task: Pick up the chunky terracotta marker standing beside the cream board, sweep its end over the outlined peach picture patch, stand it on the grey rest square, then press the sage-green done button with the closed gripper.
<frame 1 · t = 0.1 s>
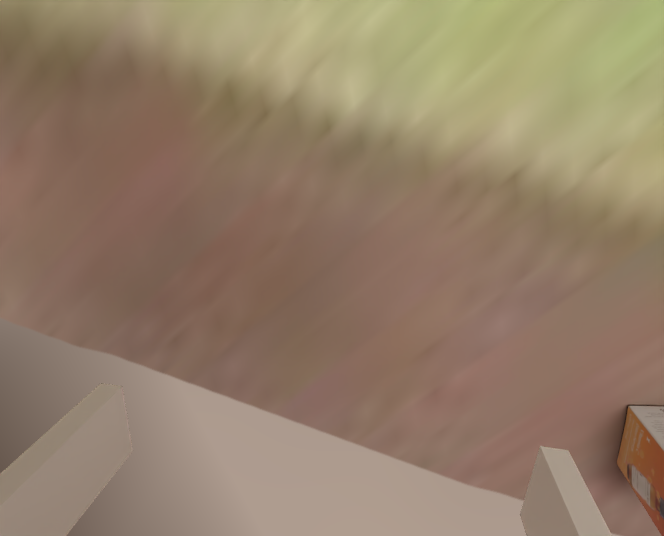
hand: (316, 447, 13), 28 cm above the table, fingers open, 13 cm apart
small box: (649, 434, 42), on the table
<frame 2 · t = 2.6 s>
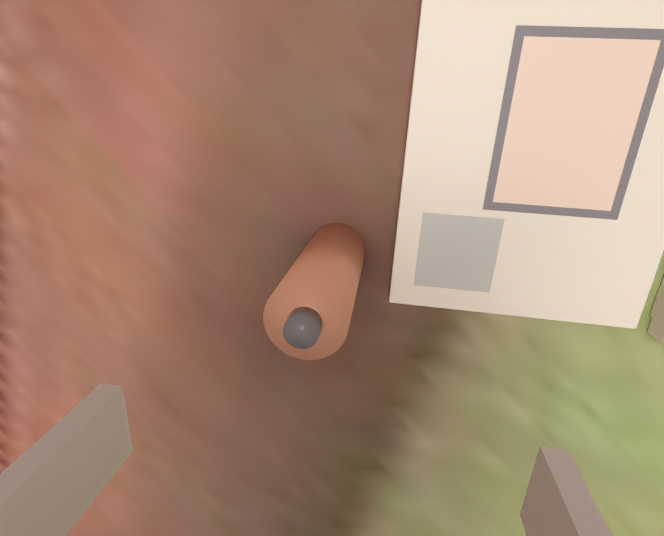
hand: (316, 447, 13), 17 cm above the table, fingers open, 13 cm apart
marker: (337, 250, 29), on the table
board: (536, 161, 25), on the table
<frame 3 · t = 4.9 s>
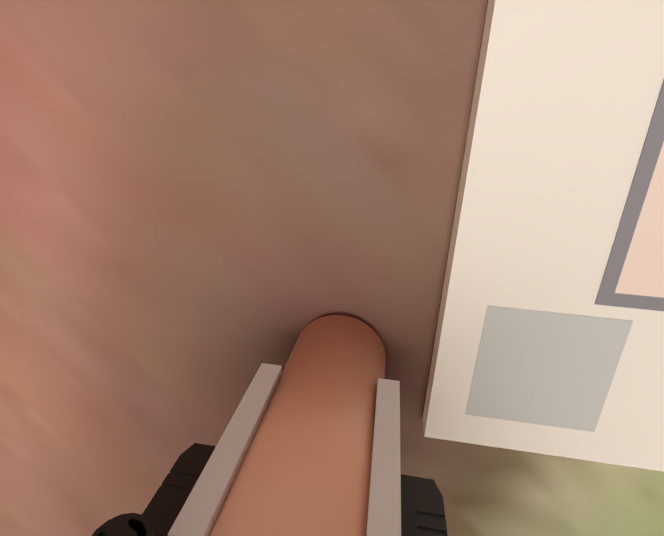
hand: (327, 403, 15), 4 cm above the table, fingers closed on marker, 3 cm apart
marker: (339, 355, 18), on the table, touching gripper
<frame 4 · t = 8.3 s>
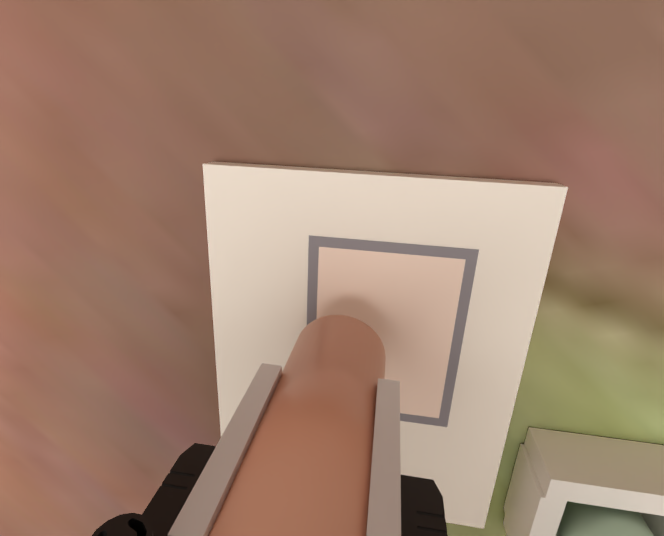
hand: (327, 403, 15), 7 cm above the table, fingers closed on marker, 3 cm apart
marker: (339, 355, 18), point 4 cm above the table, touching gripper
board: (361, 355, 22), on the table
button housing: (578, 486, 23), on the table
when the fingers open (7 cm above the table, at t = 12.1 s): marker drops 2 cm, resting on board.
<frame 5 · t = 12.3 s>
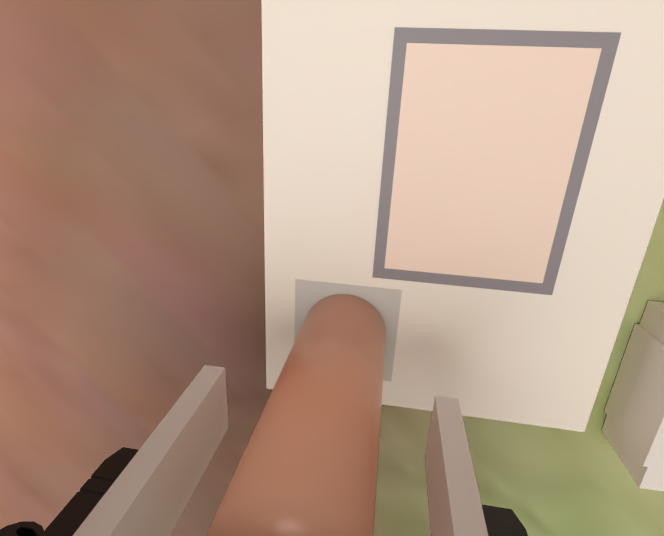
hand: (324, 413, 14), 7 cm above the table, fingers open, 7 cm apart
marker: (344, 331, 20), point 1 cm above the table, touching board
board: (443, 212, 18), on the table
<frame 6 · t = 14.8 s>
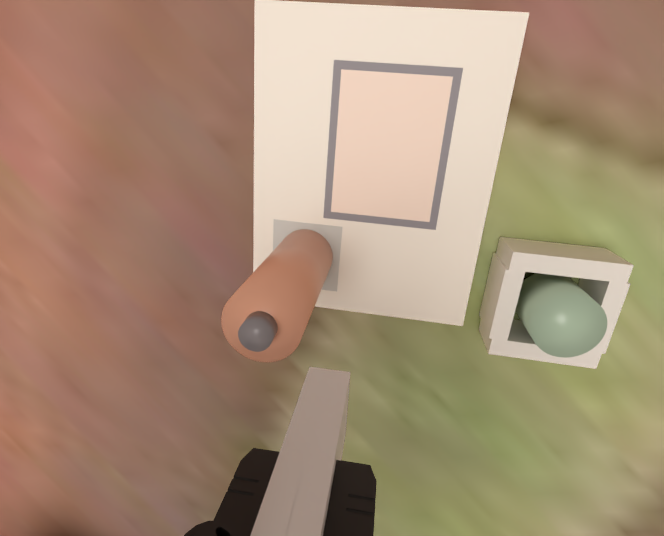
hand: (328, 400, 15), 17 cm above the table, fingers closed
marker: (305, 255, 30), point 1 cm above the table, touching board
done button: (556, 312, 26), point 3 cm above the table, slide at 0.0 cm
board: (369, 176, 28), on the table
button housing: (538, 291, 29), on the table
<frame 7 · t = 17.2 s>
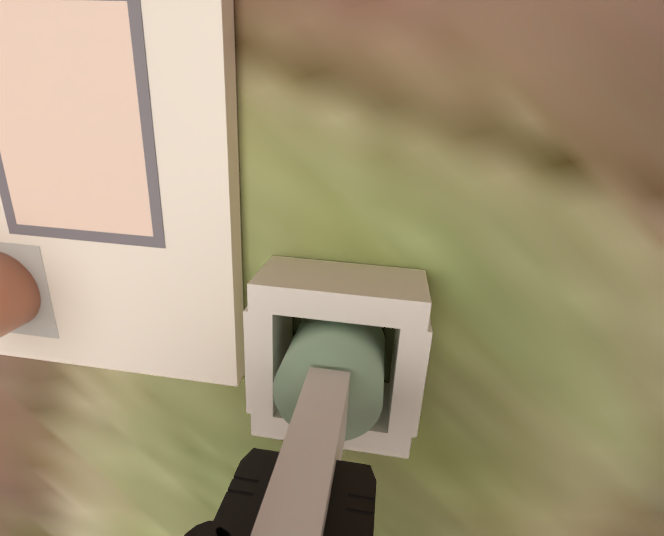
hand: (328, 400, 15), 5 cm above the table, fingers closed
marker: (3, 288, 20), point 1 cm above the table, touching board
done button: (334, 367, 17), point 3 cm above the table, slide at 0.6 cm, touching gripper
board: (74, 169, 19), on the table
button housing: (342, 333, 20), on the table
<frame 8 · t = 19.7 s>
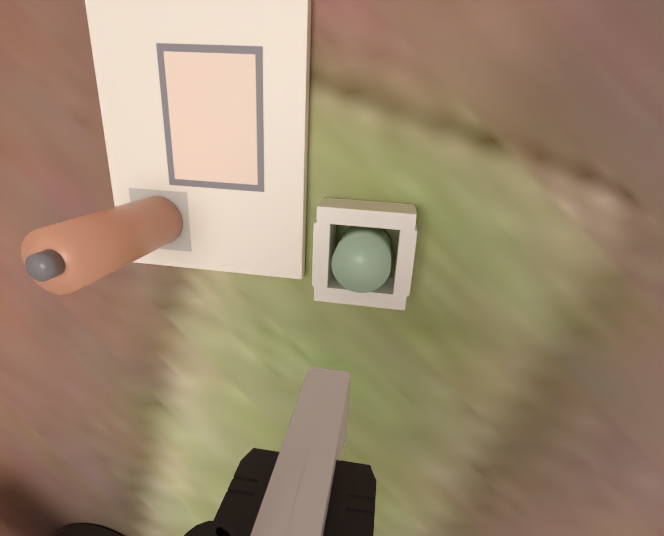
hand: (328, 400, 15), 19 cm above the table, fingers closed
marker: (160, 220, 33), point 1 cm above the table, touching board
done button: (363, 256, 30), point 3 cm above the table, slide at 0.8 cm
board: (208, 146, 32), on the table
button housing: (365, 245, 33), on the table
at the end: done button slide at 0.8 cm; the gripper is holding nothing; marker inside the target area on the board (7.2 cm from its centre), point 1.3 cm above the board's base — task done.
